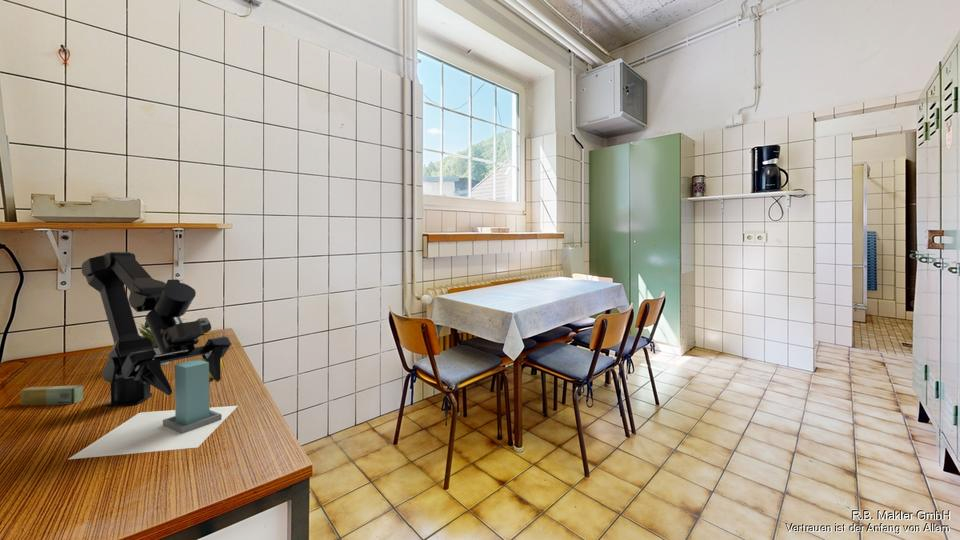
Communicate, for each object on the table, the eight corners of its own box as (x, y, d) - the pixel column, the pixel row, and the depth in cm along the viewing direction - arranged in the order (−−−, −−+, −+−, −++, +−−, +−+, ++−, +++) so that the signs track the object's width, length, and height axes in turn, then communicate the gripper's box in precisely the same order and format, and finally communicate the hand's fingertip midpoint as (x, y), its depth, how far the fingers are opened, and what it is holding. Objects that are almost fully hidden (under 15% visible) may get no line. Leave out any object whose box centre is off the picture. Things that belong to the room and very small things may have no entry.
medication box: (84, 400, 95) (84, 384, 95) (74, 404, 92) (74, 388, 92) (30, 402, 94) (30, 386, 93) (18, 406, 91) (18, 389, 91)
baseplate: (67, 464, 66) (67, 459, 66) (139, 416, 86) (139, 412, 86) (197, 452, 71) (197, 447, 71) (238, 409, 91) (238, 405, 91)
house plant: (189, 355, 136) (188, 310, 135) (192, 364, 126) (191, 315, 125) (135, 362, 127) (134, 314, 126) (134, 372, 116) (133, 320, 115)
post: (175, 424, 80) (174, 364, 80) (198, 416, 84) (197, 359, 84) (186, 429, 78) (185, 367, 78) (209, 420, 82) (208, 362, 82)
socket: (162, 425, 80) (162, 419, 80) (202, 412, 87) (202, 407, 86) (181, 433, 76) (181, 428, 76) (221, 419, 83) (221, 414, 83)
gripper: (126, 313, 74) (155, 377, 69) (226, 302, 90) (255, 354, 86) (109, 347, 78) (136, 410, 73) (208, 331, 94) (235, 382, 90)
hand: (195, 387), depth 80 cm, fingers open, 9 cm apart
